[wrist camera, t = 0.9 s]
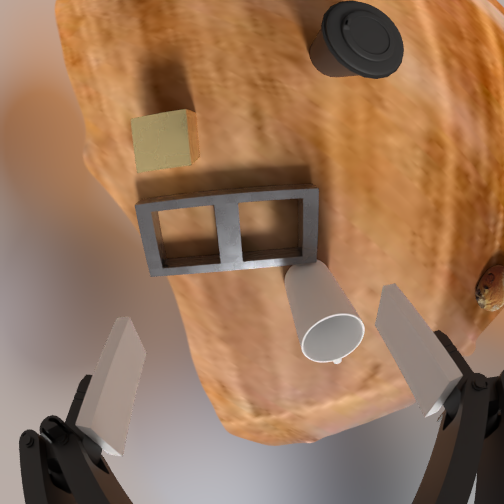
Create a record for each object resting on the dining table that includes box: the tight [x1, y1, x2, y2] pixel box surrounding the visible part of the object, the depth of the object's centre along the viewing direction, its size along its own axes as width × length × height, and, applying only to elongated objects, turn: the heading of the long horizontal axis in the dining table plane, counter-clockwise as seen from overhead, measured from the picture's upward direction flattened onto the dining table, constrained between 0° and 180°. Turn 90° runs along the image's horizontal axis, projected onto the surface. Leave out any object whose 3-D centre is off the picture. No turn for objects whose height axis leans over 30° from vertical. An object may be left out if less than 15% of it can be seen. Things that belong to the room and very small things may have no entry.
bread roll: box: [475, 265, 504, 311], centre depth 40 cm, size 10×10×8 cm
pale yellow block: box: [131, 109, 200, 173], centre depth 25 cm, size 5×5×7 cm
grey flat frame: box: [135, 184, 319, 277], centre depth 32 cm, size 9×20×2 cm, turn 94°
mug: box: [284, 260, 365, 364], centre depth 32 cm, size 10×7×12 cm, turn 20°
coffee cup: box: [310, 1, 404, 79], centre depth 20 cm, size 8×8×10 cm
